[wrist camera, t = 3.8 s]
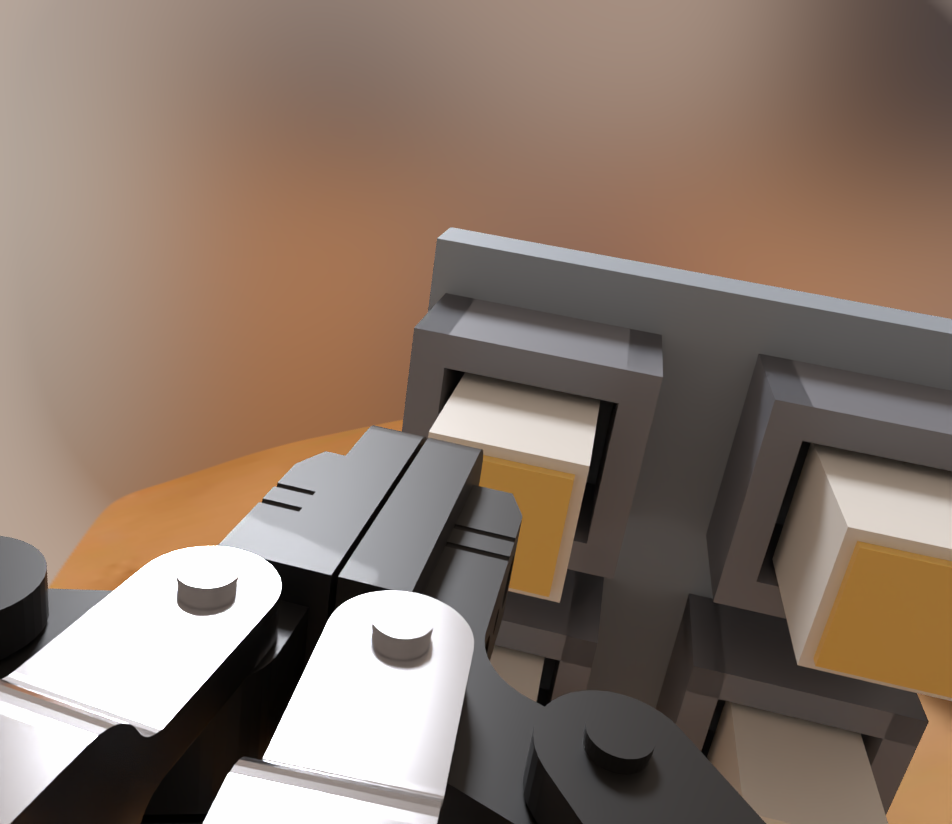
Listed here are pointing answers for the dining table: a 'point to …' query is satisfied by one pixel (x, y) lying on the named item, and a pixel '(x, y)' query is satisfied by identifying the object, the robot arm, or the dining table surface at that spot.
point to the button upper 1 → (528, 465)
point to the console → (688, 466)
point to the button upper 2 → (870, 570)
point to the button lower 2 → (795, 768)
